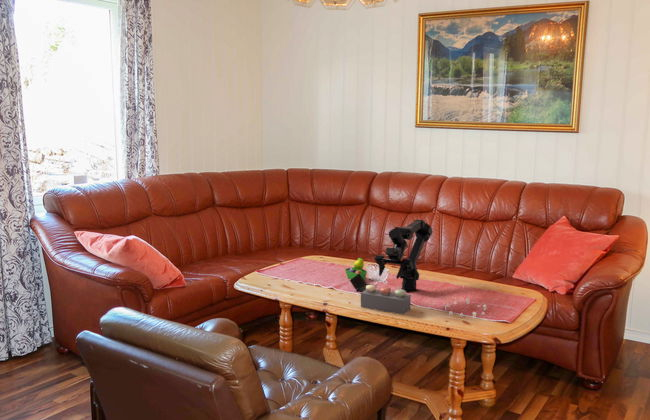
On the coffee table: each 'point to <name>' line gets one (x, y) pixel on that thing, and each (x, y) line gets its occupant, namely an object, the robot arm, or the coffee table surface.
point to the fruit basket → (356, 270)
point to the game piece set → (467, 303)
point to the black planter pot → (359, 283)
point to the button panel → (386, 302)
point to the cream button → (371, 288)
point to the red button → (385, 290)
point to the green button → (400, 293)
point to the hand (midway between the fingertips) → (388, 277)
